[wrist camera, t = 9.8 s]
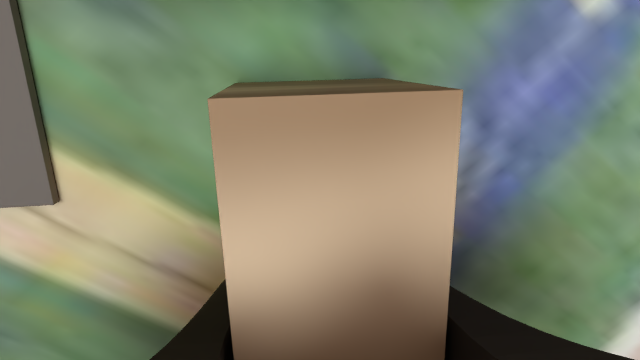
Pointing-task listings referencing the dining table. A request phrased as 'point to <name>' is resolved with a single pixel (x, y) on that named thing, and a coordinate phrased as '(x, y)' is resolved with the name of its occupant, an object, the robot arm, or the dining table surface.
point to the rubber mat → (21, 122)
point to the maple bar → (337, 216)
